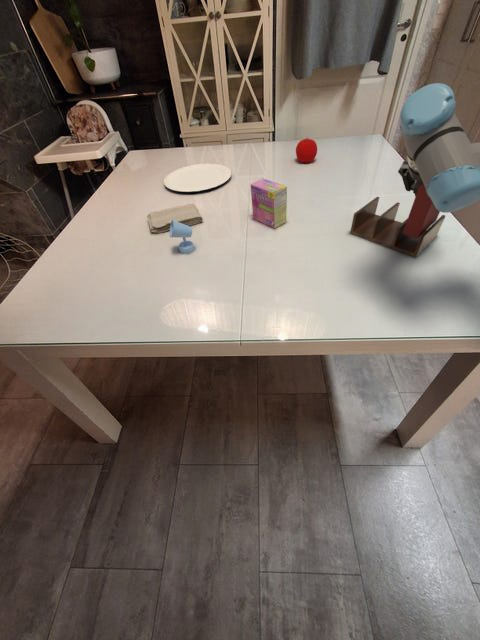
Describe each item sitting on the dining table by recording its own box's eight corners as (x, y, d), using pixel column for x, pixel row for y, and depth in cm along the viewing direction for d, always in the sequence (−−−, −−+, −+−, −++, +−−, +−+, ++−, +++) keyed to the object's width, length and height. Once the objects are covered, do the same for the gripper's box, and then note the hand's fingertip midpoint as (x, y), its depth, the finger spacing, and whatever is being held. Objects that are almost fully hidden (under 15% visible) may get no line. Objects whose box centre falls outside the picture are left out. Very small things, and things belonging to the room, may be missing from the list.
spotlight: (175, 256, 89) (197, 251, 90) (166, 226, 82) (190, 221, 83) (173, 247, 93) (195, 243, 94) (165, 218, 86) (188, 213, 86)
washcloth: (147, 219, 107) (145, 211, 105) (195, 208, 110) (194, 200, 108) (152, 235, 99) (149, 227, 97) (203, 222, 102) (202, 214, 100)
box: (252, 218, 101) (250, 183, 92) (264, 212, 103) (263, 177, 95) (274, 229, 95) (274, 192, 87) (286, 222, 98) (287, 186, 89)
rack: (436, 236, 85) (445, 215, 80) (415, 257, 79) (424, 236, 75) (372, 216, 96) (377, 196, 91) (349, 233, 90) (354, 213, 85)
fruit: (291, 163, 132) (292, 137, 125) (302, 156, 136) (303, 131, 129) (309, 166, 127) (311, 140, 120) (320, 159, 132) (322, 134, 124)
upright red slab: (435, 221, 82) (460, 163, 71) (417, 238, 77) (441, 179, 66) (420, 216, 84) (442, 160, 73) (402, 233, 79) (422, 175, 69)
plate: (236, 165, 135) (236, 161, 134) (225, 194, 116) (224, 190, 114) (175, 167, 140) (174, 164, 139) (154, 195, 120) (153, 191, 119)
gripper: (378, 165, 65) (393, 208, 84) (464, 184, 56) (459, 227, 75) (397, 130, 63) (408, 182, 82) (489, 144, 54) (477, 198, 73)
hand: (432, 203), depth 79 cm, fingers closed on upright red slab, 4 cm apart
